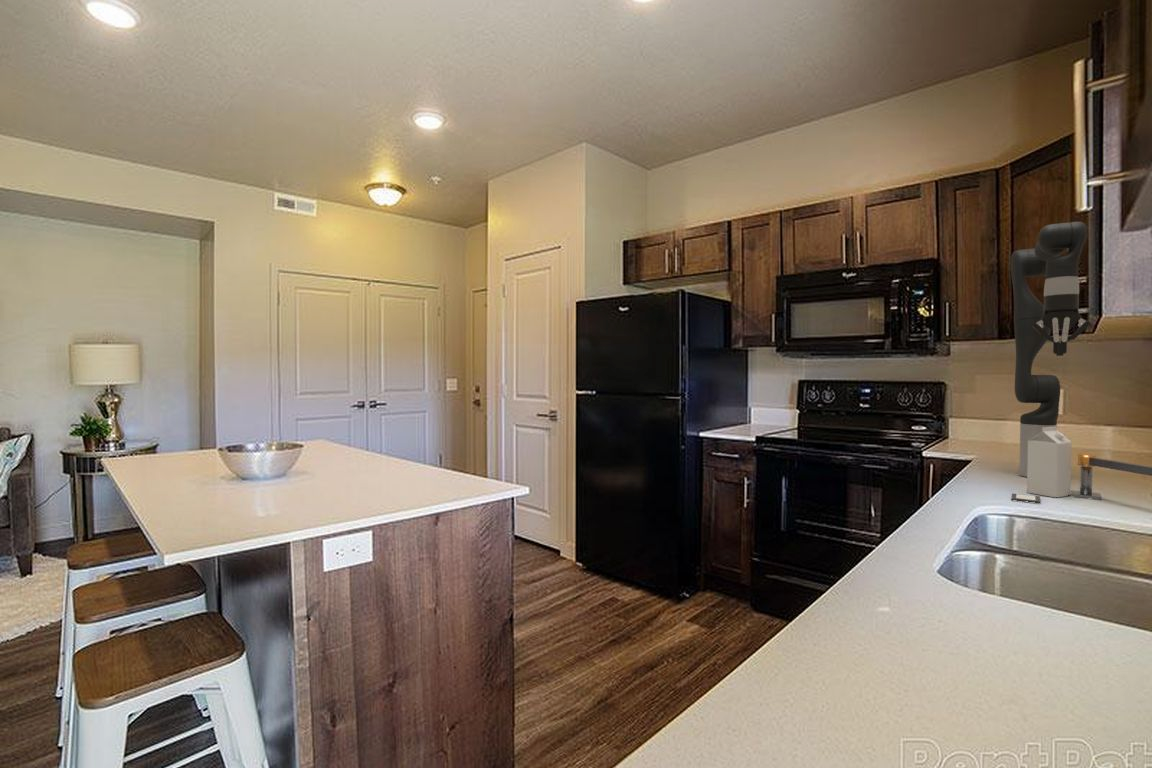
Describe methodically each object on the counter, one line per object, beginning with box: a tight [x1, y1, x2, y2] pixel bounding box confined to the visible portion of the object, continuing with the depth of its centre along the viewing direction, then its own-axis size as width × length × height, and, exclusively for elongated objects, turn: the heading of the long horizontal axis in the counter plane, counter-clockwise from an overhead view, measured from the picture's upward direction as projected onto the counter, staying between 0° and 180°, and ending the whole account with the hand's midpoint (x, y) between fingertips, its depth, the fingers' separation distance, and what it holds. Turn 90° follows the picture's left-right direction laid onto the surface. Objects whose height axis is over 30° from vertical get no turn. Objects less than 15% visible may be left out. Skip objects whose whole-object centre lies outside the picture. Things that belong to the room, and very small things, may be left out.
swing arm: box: [1077, 453, 1152, 477], centre depth 144 cm, size 26×4×3 cm, turn 4°
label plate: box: [1011, 492, 1041, 504], centre depth 152 cm, size 8×6×1 cm
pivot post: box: [1070, 466, 1103, 501], centre depth 155 cm, size 6×6×8 cm
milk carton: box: [1026, 425, 1072, 498], centre depth 158 cm, size 7×7×19 cm
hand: (1059, 355), depth 160 cm, fingers closed
